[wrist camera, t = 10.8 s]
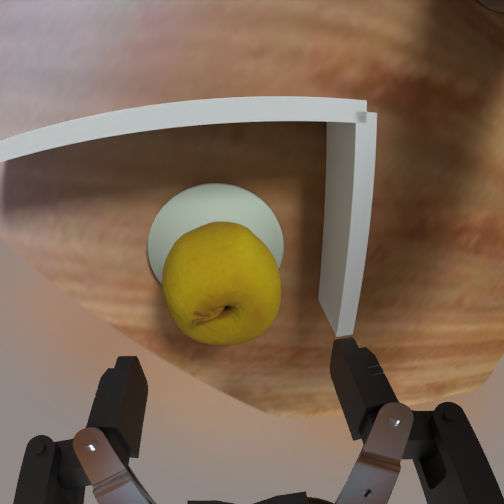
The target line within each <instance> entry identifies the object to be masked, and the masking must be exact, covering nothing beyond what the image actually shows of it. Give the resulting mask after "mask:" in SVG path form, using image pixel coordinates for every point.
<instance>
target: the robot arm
mask: <svg viewBox="0 0 504 504" xmlns="http://www.w3.org/2000/svg"><path fill="white" fill-rule="evenodd" d="M478 1H479V2H480V3H482V4H483V5H484V6H486V7H487V8H489V9H491V10H493V11H496V12H504V0H478ZM330 374H331V378H332V381H333V384H334V387H335V390H336V392H337V395H338V398H339V401H340V404H341V407H342V409H343V412H344V415H345V418H346V421H347V424H348V427H349V430H350V432H351V435H352V438H353V440H358V439H362V441H363V444H364V446H363V448H362V450H361V452H360V454H359V457H358V459H357V461H356V463H355V465H354V468H353V469H352V472H351V474H350V476H349V477H348V479H347V482H346V483H345V485H344V487H343V489H342V491H341V493H340V494H339V496H338V498H337V500H336V502H335V504H387V503H388V500H389V498H390V496H391V493H392V490H393V488H394V485H395V483H396V481H397V478H398V475H399V472H400V469H401V466H400V461H401V459H413V462H414V465H415V467H416V470H417V473H418V476H419V479H420V482H421V485H422V488H423V491H424V494H425V497H426V501H427V504H504V498H503V496H502V494H501V491H500V488H499V486H498V483H497V481H496V479H495V476H494V474H493V472H492V469H491V467H490V465H489V463H488V460H487V458H486V456H485V454H484V452H483V449H482V447H481V445H480V443H479V441H478V439H477V437H476V435H475V433H474V431H473V429H472V427H471V425H470V423H469V421H468V419H467V417H466V415H465V413H464V411H463V409H462V408H461V407H460V406H458V405H457V404H455V403H452V402H444V403H441V404H439V405H438V406H437V407H436V408H435V410H434V411H413V410H410V408H409V407H408V406H406V405H404V404H402V403H400V402H399V401H398V399H397V398H396V396H395V394H394V392H393V390H392V388H391V386H390V384H389V382H388V380H387V378H386V376H385V374H384V373H383V370H382V368H381V366H380V365H379V362H378V360H377V358H376V356H375V355H374V354H373V353H372V352H371V351H370V350H368V349H367V348H366V347H364V348H358V346H357V344H356V342H355V340H354V338H353V337H350V338H343V339H337V340H334V343H333V349H332V356H331V362H330ZM147 396H148V385H147V380H146V377H145V375H144V373H143V370H142V367H141V365H140V362H139V360H138V358H137V357H136V356H119V357H118V358H117V361H116V364H115V368H112V369H111V368H108V369H107V371H106V372H105V373H104V374H103V375H102V377H101V379H100V382H99V385H98V390H97V392H96V397H95V398H94V402H93V405H92V409H91V412H90V416H89V419H88V423H87V426H86V428H84V429H82V430H80V431H79V432H78V433H77V434H76V435H75V437H74V439H70V440H65V441H59V442H53V440H52V439H51V438H49V437H48V436H45V435H38V436H36V437H34V438H32V439H31V440H30V441H29V443H28V444H27V447H26V451H25V455H24V458H23V463H22V466H21V470H20V474H19V479H18V483H17V488H16V493H15V498H14V503H13V504H83V503H84V494H85V486H88V485H92V486H93V488H94V490H93V494H94V496H95V498H96V500H97V502H98V503H99V504H156V502H155V501H154V500H153V499H152V498H151V496H150V495H149V494H148V492H147V491H146V490H145V488H144V487H143V486H142V484H141V483H140V481H139V480H138V479H137V477H136V476H135V474H134V473H133V471H132V470H131V469H130V467H129V466H128V463H129V457H132V458H138V456H139V448H140V441H141V433H142V427H143V421H144V414H145V407H146V402H147ZM188 504H233V503H227V502H222V501H188ZM254 504H334V503H331V502H329V501H326V500H323V499H319V498H312V497H307V496H306V492H299V493H293V494H286V495H279V496H275V497H272V498H269V499H266V500H263V501H260V502H257V503H254Z"/></svg>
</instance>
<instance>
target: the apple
mask: <svg viewBox="0 0 504 504" xmlns="http://www.w3.org/2000/svg"><path fill="white" fill-rule="evenodd" d="M162 288H163V294H164V297H165V300H166V302H167V306H168V309H169V312H170V314H171V316H172V318H173V320H174V321H175V323H176V325H177V326H178V327H179V328H180V330H181V331H182V332H183V333H185V334H186V335H187V336H189V337H190V338H192V339H194V340H196V341H199V342H202V343H205V344H209V345H232V344H239V343H245V342H247V341H250V340H253V339H255V338H257V337H259V336H260V335H261V334H263V333H264V332H265V331H266V330H267V329H268V328H269V327H270V325H271V324H272V323H273V321H274V320H275V318H276V316H277V313H278V310H279V307H280V301H281V278H280V273H279V269H278V266H277V263H276V260H275V258H274V256H273V255H272V253H271V251H270V250H269V249H268V247H267V246H266V245H265V244H264V243H263V242H262V241H261V240H260V239H259V238H258V237H257V236H256V235H255V234H254V233H253V232H251V231H250V230H249V229H248V228H246V227H245V226H243V225H240V224H237V223H233V222H211V223H208V224H205V225H203V226H200V227H198V228H196V229H193V230H191V231H189V232H187V233H185V234H183V235H182V236H181V237H180V238H179V239H178V240H177V241H176V242H175V243H174V245H173V247H172V248H171V250H170V252H169V254H168V256H167V258H166V261H165V263H164V267H163V273H162Z"/></svg>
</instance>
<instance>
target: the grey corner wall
mask: <svg viewBox="0 0 504 504" xmlns="http://www.w3.org/2000/svg"><path fill="white" fill-rule="evenodd" d="M261 121H325V122H327V136H326V182H325V206H324V226H323V242H322V257H321V270H320V283H319V294H318V300H319V302H320V305H321V307H322V309H323V311H324V313H325V315H326V317H327V319H328V321H329V323H330V325H331V327H332V329H333V331H334V333H335V336H336V337H339V336H345V335H351V334H353V330H354V325H355V320H356V314H357V309H358V303H359V298H360V292H361V286H362V279H363V273H364V266H365V259H366V251H367V244H368V236H369V227H370V218H371V208H372V197H373V185H374V172H375V155H376V132H377V113H373V112H367V101H365V100H354V99H341V98H324V97H292V96H266V97H234V98H216V99H203V100H191V101H181V102H172V103H164V104H156V105H149V106H142V107H136V108H129V109H124V110H118V111H112V112H107V113H102V114H97V115H92V116H87V117H83V118H78V119H74V120H70V121H66V122H62V123H58V124H54V125H50V126H46V127H43V128H39V129H36V130H32V131H29V132H26V133H22V134H19V135H16V136H13V137H10V138H7V139H4V140H1V141H0V162H3V161H6V160H10V159H13V158H17V157H20V156H24V155H28V154H31V153H35V152H39V151H43V150H47V149H51V148H56V147H60V146H65V145H69V144H74V143H78V142H83V141H88V140H94V139H99V138H104V137H110V136H116V135H122V134H128V133H135V132H142V131H149V130H157V129H165V128H174V127H184V126H194V125H206V124H220V123H236V122H261Z"/></svg>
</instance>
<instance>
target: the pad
mask: <svg viewBox="0 0 504 504" xmlns="http://www.w3.org/2000/svg"><path fill="white" fill-rule="evenodd" d="M211 222H233V223H237V224H240V225H243V226H245V227H246V228H248V229H249V230H250V231H251V232H253V233H254V234H255V235H256V236H257V237H258V238H259V239H260V240H261V241H262V242H263V243H264V244H265V245H266V246H267V247H268V249H269V250H270V251H271V253H272V255H273V256H274V258H275V260H276V263H277V266H278V269H279V268H280V265H281V262H282V258H283V250H284V243H283V235H282V231H281V228H280V225H279V223H278V221H277V219H276V217H275V215H274V213H273V212H272V210H271V209H270V208H269V206H268V205H267V204H266V203H265V202H264V201H263V200H262V199H261V198H259V197H258V196H257V195H255V194H254V193H252V192H250V191H249V190H247V189H244V188H242V187H239V186H236V185H232V184H228V183H204V184H199V185H196V186H192V187H190V188H187V189H185V190H183V191H181V192H179V193H178V194H176V195H175V196H173V197H172V198H171V199H170V200H169V201H168V202H167V203H166V204H165V205H164V206H163V207H162V208H161V210H160V211H159V213H158V214H157V216H156V218H155V220H154V222H153V224H152V227H151V230H150V233H149V238H148V256H149V261H150V264H151V267H152V270H153V272H154V274H155V275H156V277H157V279H158V280H159V282H160V283H161V284H162V273H163V267H164V263H165V261H166V258H167V256H168V254H169V252H170V250H171V248H172V247H173V245H174V243H175V242H176V241H177V240H178V239H179V238H180V237H181V236H182V235H183V234H185V233H187V232H189V231H191V230H193V229H196V228H198V227H200V226H203V225H205V224H208V223H211Z"/></svg>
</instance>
